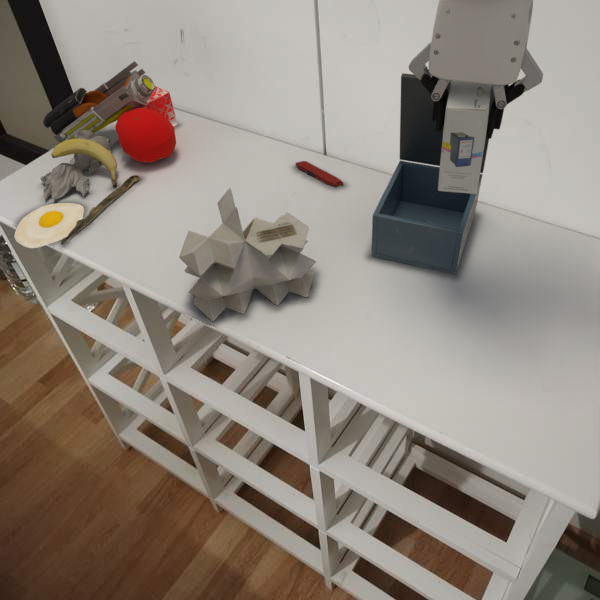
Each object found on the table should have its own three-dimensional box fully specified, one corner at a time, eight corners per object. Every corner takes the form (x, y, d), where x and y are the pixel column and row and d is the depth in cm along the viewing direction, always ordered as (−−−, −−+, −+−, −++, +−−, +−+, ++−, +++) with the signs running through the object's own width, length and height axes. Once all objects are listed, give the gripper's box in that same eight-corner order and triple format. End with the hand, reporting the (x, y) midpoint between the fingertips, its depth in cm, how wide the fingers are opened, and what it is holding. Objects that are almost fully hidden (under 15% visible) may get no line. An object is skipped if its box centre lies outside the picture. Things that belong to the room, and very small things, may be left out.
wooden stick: (58, 245, 104) (54, 237, 102) (136, 176, 117) (133, 168, 116) (65, 248, 103) (60, 239, 102) (142, 178, 116) (139, 170, 115)
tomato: (96, 129, 113) (117, 168, 121) (149, 137, 109) (167, 177, 117) (126, 95, 119) (144, 134, 127) (177, 101, 114) (192, 142, 123)
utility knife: (301, 162, 116) (294, 167, 115) (300, 158, 115) (293, 162, 114) (344, 185, 110) (337, 190, 109) (344, 181, 109) (336, 186, 108)
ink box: (476, 195, 73) (492, 111, 64) (435, 191, 74) (445, 107, 65) (479, 157, 78) (495, 74, 70) (441, 154, 79) (452, 72, 71)
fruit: (115, 189, 115) (118, 180, 113) (48, 161, 111) (49, 151, 109) (127, 163, 119) (130, 154, 117) (63, 136, 115) (64, 126, 113)
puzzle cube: (118, 96, 124) (140, 107, 120) (147, 81, 128) (169, 92, 124) (129, 129, 130) (150, 140, 126) (156, 114, 134) (177, 124, 130)
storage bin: (455, 274, 92) (462, 233, 85) (371, 256, 96) (372, 215, 90) (474, 215, 101) (482, 174, 95) (397, 200, 106) (399, 160, 99)
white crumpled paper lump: (205, 224, 75) (193, 163, 85) (164, 320, 86) (157, 256, 96) (348, 257, 86) (322, 199, 96) (295, 339, 96) (277, 279, 106)
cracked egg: (76, 242, 104) (74, 236, 103) (8, 251, 104) (5, 245, 103) (87, 199, 113) (84, 194, 112) (24, 207, 113) (21, 201, 112)
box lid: (497, 87, 81) (505, 65, 83) (400, 76, 85) (410, 55, 88) (482, 173, 94) (489, 152, 97) (399, 159, 99) (407, 139, 101)
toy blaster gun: (116, 70, 108) (129, 42, 114) (36, 131, 121) (52, 103, 127) (152, 106, 114) (163, 78, 120) (73, 161, 127) (86, 133, 133)
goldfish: (78, 198, 109) (36, 165, 106) (62, 224, 116) (21, 194, 113) (131, 147, 123) (94, 116, 120) (113, 173, 129) (78, 145, 127)
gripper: (582, -40, 58) (540, 122, 71) (415, -47, 63) (405, 105, 76) (577, -12, 53) (533, 156, 66) (397, -22, 58) (389, 135, 72)
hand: (465, 127), depth 71 cm, fingers closed on ink box, 5 cm apart
